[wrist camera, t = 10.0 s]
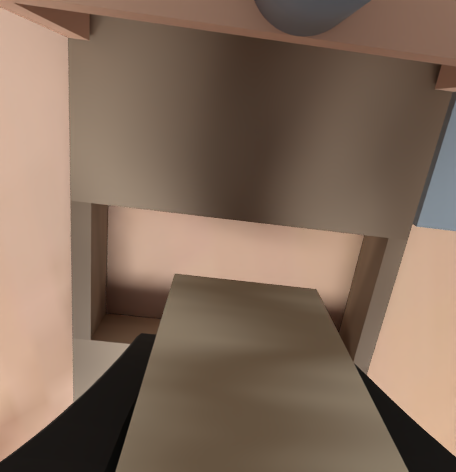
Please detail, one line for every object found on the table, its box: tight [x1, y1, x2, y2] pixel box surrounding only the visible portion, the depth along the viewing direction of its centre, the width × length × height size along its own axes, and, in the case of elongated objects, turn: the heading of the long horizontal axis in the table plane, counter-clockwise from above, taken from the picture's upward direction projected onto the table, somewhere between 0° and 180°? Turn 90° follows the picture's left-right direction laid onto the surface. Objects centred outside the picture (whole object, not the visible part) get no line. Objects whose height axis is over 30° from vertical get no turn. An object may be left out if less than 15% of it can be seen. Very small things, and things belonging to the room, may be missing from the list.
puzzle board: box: [68, 14, 452, 402], centre depth 14 cm, size 12×22×2 cm, turn 173°
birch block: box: [116, 274, 409, 472], centre depth 8 cm, size 4×4×6 cm
